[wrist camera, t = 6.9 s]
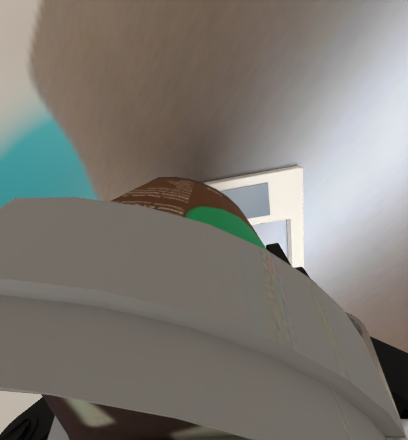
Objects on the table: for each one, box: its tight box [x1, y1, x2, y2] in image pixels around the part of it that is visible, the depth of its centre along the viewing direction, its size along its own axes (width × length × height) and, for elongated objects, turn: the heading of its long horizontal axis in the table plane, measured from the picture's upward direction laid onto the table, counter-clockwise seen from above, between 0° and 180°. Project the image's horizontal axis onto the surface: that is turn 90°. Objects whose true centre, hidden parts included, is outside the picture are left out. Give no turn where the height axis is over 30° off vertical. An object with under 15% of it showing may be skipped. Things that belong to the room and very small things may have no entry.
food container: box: [0, 177, 406, 440], centre depth 8 cm, size 12×6×10 cm, turn 6°
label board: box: [204, 165, 304, 269], centre depth 30 cm, size 16×28×2 cm, turn 11°
